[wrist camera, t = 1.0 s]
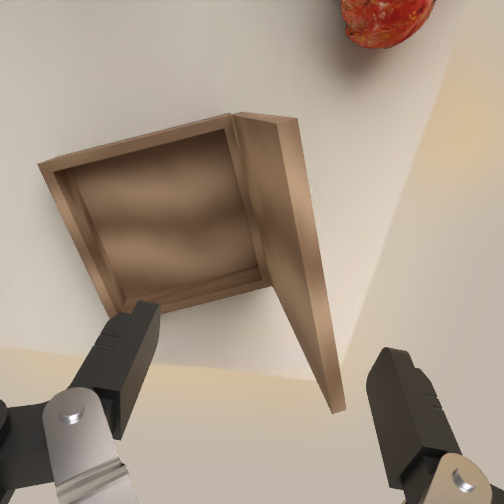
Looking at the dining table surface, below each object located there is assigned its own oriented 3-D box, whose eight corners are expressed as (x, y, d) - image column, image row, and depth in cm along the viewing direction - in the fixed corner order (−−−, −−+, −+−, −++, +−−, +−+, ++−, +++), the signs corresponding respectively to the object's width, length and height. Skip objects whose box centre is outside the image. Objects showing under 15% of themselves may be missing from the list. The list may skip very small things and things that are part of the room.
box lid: (273, 124, 13) (299, 117, 13) (230, 114, 27) (242, 111, 27) (330, 414, 19) (348, 408, 19) (270, 283, 33) (280, 280, 33)
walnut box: (58, 156, 31) (37, 164, 27) (229, 113, 31) (232, 114, 27) (123, 303, 37) (113, 326, 33) (266, 267, 37) (272, 285, 33)
